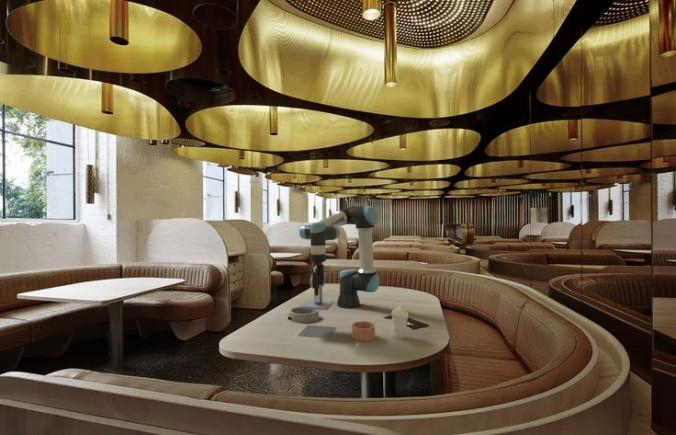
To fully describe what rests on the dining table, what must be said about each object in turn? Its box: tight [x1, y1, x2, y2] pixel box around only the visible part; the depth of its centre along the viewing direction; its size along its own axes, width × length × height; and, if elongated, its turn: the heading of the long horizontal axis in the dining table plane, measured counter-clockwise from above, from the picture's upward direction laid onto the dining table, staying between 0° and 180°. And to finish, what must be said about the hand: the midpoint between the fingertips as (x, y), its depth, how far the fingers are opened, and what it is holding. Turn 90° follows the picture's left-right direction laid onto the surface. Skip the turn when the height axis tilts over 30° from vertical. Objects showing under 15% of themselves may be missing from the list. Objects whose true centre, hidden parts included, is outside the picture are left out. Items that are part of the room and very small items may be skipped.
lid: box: [301, 285, 335, 311], centre depth 161 cm, size 13×13×10 cm
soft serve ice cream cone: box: [390, 303, 409, 340], centre depth 155 cm, size 8×8×16 cm
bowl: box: [350, 320, 376, 343], centre depth 155 cm, size 11×11×6 cm
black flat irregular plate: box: [382, 314, 430, 331], centre depth 178 cm, size 25×1×15 cm
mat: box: [297, 324, 338, 340], centre depth 161 cm, size 16×16×1 cm
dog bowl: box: [287, 306, 320, 324], centre depth 183 cm, size 17×18×5 cm
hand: (318, 300), depth 161 cm, fingers closed on lid, 4 cm apart
